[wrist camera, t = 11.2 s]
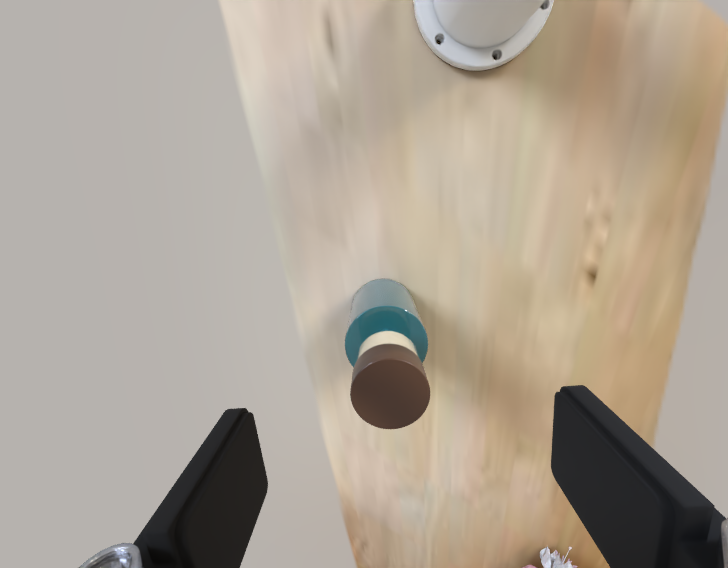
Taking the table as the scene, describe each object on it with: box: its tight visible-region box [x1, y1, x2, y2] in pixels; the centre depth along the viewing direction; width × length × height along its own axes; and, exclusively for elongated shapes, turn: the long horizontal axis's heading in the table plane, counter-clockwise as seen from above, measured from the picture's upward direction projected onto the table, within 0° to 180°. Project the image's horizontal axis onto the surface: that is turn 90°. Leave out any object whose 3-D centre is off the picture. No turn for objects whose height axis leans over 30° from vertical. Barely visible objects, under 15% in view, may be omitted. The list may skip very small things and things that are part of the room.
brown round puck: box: [350, 343, 430, 429], centre depth 23 cm, size 5×5×2 cm
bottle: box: [345, 279, 428, 367], centre depth 31 cm, size 7×7×15 cm
